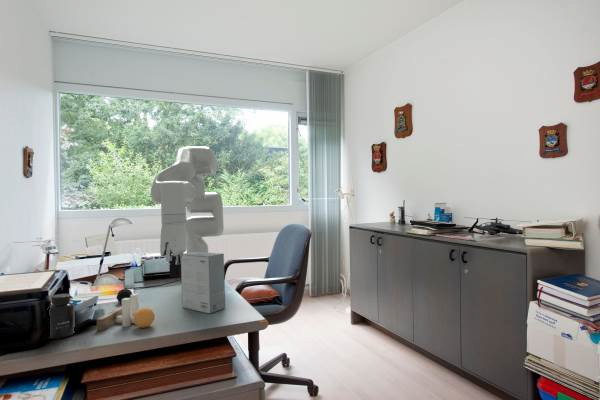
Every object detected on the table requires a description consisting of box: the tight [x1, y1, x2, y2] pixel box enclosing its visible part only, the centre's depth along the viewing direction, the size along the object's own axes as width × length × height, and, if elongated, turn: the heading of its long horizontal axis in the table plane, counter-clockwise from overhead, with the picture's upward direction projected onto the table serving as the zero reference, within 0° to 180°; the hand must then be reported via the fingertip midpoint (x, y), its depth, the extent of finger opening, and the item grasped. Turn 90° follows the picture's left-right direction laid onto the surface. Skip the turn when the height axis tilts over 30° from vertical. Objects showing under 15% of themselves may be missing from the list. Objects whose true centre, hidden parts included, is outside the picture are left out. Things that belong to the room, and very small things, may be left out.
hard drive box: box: [180, 251, 226, 314], centre depth 135 cm, size 16×8×20 cm, turn 56°
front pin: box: [115, 316, 135, 324], centre depth 121 cm, size 2×2×8 cm
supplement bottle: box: [49, 293, 75, 340], centre depth 111 cm, size 7×7×12 cm
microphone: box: [116, 288, 133, 304], centre depth 151 cm, size 6×6×20 cm
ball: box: [134, 307, 155, 328], centre depth 117 cm, size 6×6×6 cm
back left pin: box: [121, 298, 132, 328], centre depth 118 cm, size 2×2×8 cm
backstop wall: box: [96, 305, 122, 332], centre depth 121 cm, size 14×2×4 cm, turn 175°
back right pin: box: [130, 293, 139, 316], centre depth 123 cm, size 2×2×8 cm
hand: (175, 276), depth 119 cm, fingers closed
